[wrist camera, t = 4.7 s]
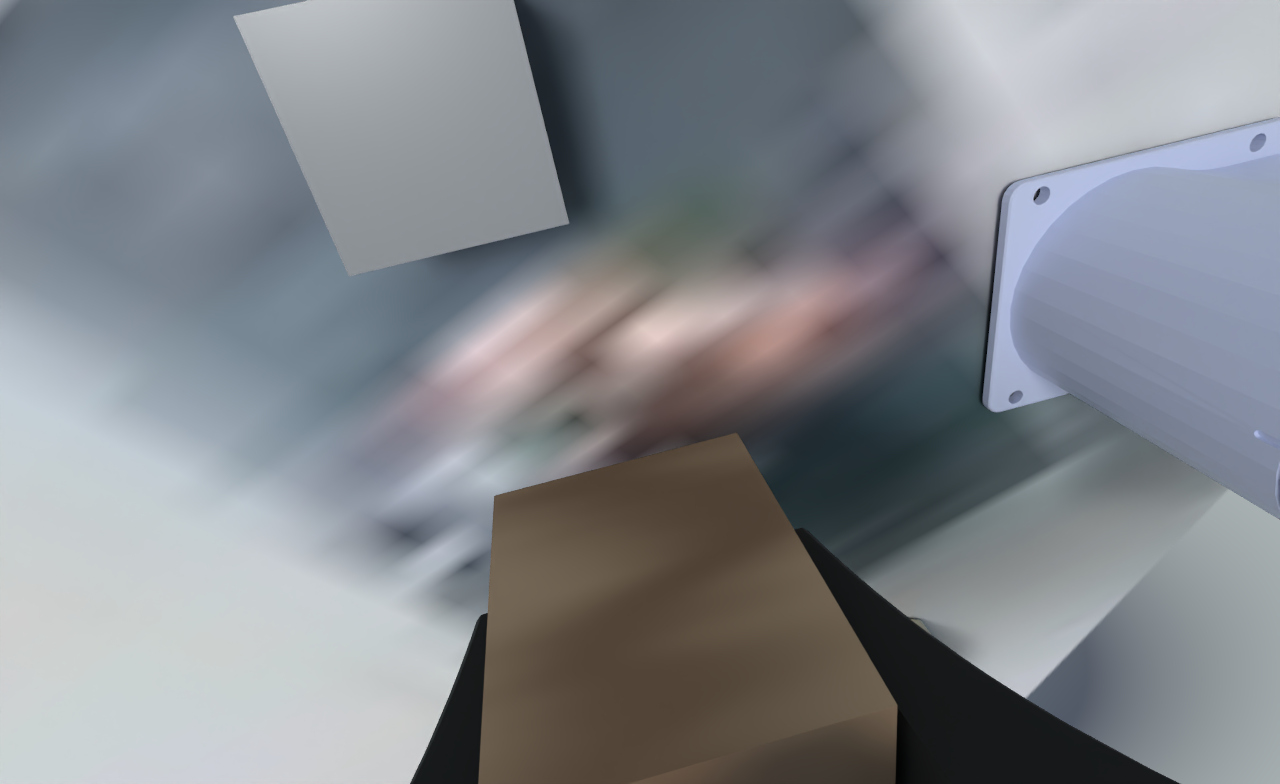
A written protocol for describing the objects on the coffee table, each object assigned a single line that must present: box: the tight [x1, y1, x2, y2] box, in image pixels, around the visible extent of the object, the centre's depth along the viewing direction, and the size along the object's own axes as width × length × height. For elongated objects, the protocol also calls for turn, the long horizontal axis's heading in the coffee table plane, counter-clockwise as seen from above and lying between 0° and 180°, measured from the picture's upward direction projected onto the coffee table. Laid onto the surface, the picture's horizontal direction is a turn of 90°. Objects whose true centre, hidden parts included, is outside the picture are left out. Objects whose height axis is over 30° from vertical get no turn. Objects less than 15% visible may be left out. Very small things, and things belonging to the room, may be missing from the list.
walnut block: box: [478, 433, 897, 784], centre depth 10 cm, size 4×4×6 cm
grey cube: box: [233, 0, 569, 276], centre depth 13 cm, size 4×4×4 cm
